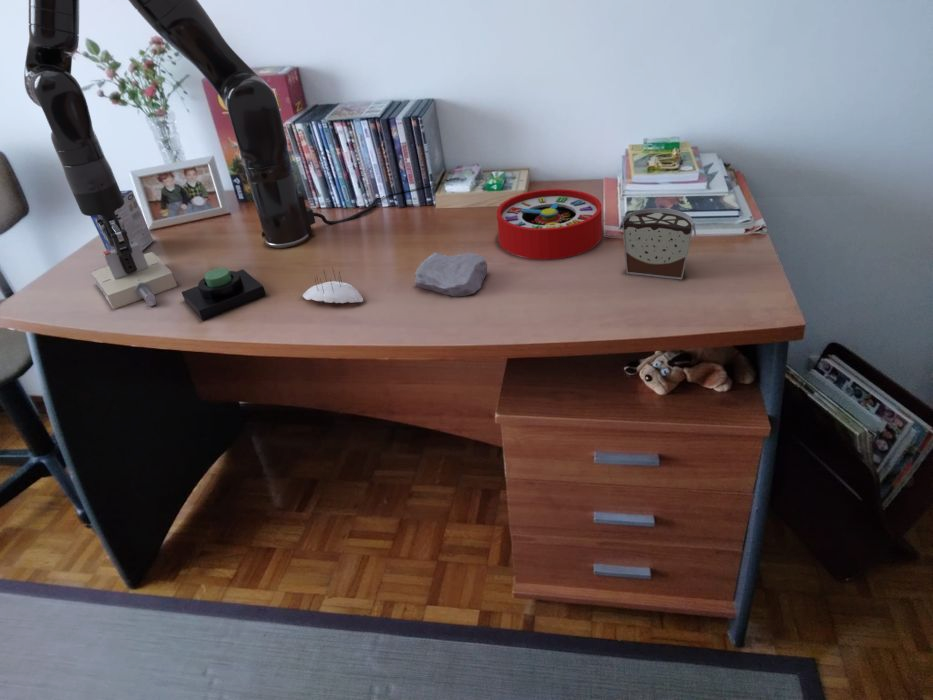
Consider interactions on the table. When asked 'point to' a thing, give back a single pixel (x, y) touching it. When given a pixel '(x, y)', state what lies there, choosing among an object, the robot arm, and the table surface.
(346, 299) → the pincushion
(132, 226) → the ink cartridge box
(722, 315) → the table surface
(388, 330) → the table surface
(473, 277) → the stone block
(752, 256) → the table surface
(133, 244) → the pale grey rectangular block
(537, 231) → the toy clock
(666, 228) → the food container
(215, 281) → the push button
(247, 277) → the button housing
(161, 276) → the block
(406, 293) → the table surface
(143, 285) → the spout
